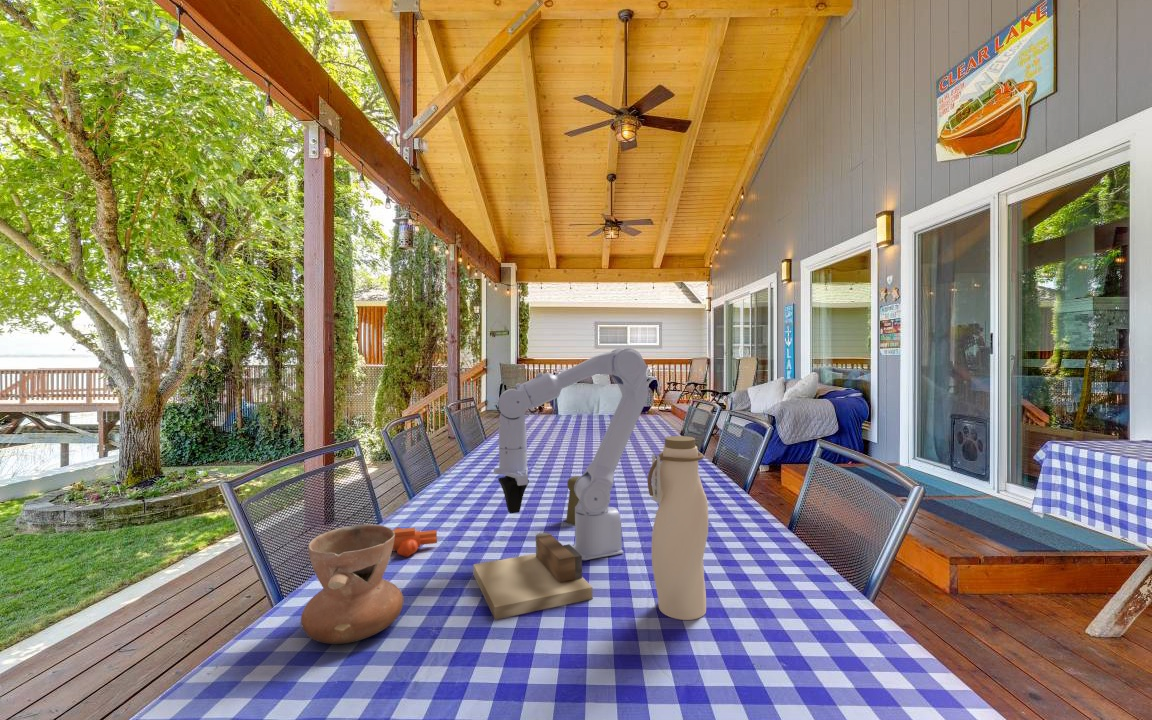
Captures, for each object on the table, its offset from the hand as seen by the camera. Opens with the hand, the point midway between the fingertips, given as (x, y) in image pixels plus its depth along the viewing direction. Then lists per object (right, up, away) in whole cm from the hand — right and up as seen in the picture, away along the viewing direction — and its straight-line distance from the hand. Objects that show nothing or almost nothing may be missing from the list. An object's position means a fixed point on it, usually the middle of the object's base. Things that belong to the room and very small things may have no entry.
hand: (513, 512), depth 105 cm
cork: (+13, -9, +23) cm, 28 cm away
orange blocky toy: (-23, -10, +3) cm, 26 cm away
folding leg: (+9, -7, -10) cm, 15 cm away
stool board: (+4, -9, -13) cm, 17 cm away
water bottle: (+30, -9, -22) cm, 38 cm away
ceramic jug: (-22, -10, -26) cm, 35 cm away
